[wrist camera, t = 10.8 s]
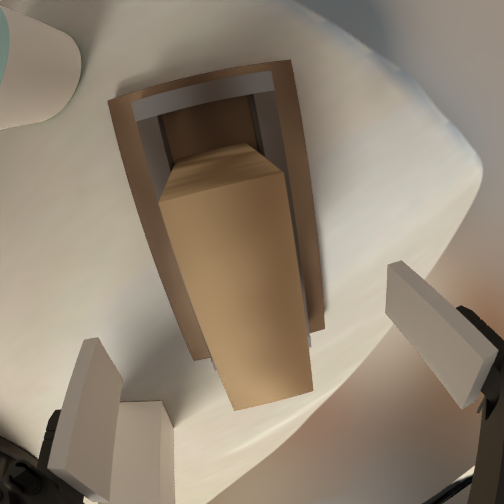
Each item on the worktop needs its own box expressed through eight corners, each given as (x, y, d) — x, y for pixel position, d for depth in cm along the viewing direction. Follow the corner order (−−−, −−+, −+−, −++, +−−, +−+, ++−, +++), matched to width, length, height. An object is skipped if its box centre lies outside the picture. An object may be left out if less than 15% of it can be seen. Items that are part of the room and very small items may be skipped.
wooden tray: (193, 349, 28) (194, 381, 25) (113, 101, 19) (95, 100, 15) (319, 319, 29) (334, 346, 26) (284, 62, 19) (302, 54, 16)
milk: (162, 399, 31) (167, 596, 11) (174, 428, 34) (185, 598, 14) (110, 401, 30) (94, 587, 11) (127, 430, 33) (123, 593, 13)
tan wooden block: (220, 309, 25) (234, 410, 16) (177, 158, 20) (158, 202, 11) (278, 294, 25) (316, 389, 16) (248, 141, 20) (289, 171, 11)
